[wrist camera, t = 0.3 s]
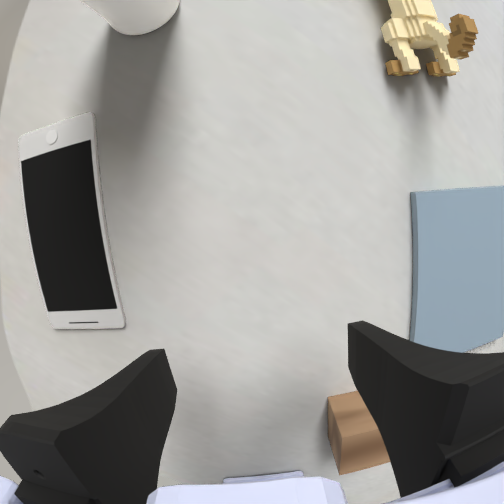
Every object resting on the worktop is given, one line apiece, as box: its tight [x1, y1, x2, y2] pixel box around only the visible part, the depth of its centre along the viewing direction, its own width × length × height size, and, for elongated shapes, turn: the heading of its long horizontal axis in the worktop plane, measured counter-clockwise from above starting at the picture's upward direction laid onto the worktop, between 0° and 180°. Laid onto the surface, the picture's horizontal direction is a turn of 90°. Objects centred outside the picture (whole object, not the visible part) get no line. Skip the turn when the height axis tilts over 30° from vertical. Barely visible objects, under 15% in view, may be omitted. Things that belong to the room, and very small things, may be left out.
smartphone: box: [18, 112, 126, 329], centre depth 20 cm, size 7×16×1 cm, turn 6°
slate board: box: [410, 186, 504, 353], centre depth 21 cm, size 14×11×1 cm
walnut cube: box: [328, 391, 390, 475], centre depth 22 cm, size 5×5×5 cm
